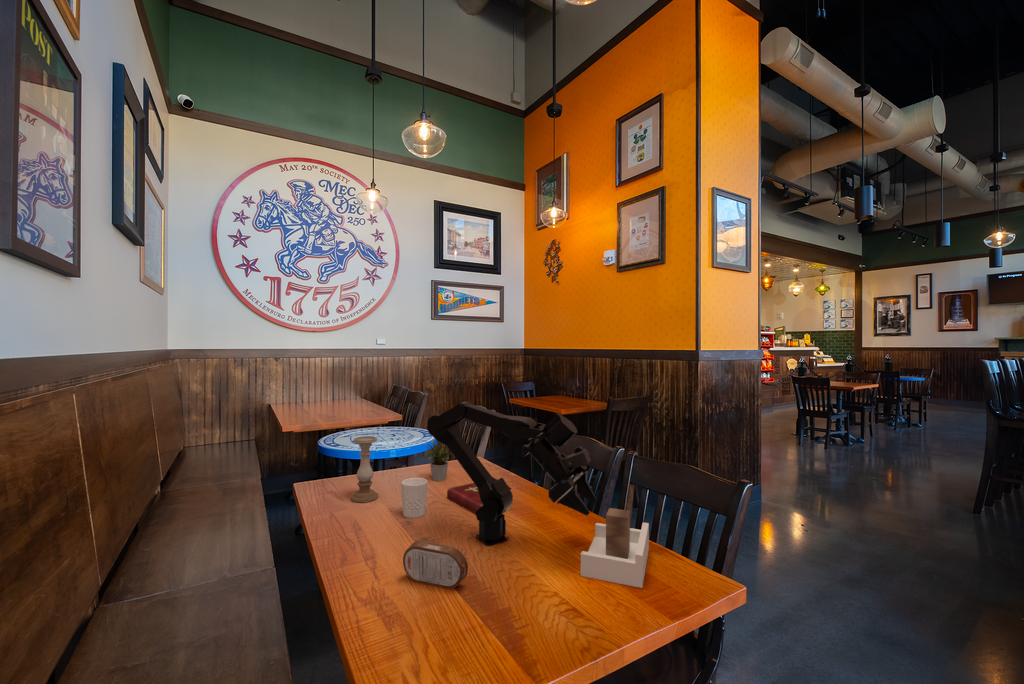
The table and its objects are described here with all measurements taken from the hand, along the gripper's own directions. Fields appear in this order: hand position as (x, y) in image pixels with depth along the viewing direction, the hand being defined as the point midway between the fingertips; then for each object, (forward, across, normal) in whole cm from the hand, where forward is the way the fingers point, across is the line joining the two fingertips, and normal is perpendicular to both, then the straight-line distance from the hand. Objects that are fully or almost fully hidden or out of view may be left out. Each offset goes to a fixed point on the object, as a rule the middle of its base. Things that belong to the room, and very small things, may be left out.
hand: (592, 507), depth 109 cm
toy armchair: (+13, 0, +4) cm, 14 cm away
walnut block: (+12, 0, +3) cm, 12 cm away
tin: (-12, -25, +30) cm, 41 cm away
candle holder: (-48, +12, +65) cm, 81 cm away
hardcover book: (-20, +23, +39) cm, 49 cm away
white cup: (-31, +7, +49) cm, 58 cm away
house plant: (-40, +40, +57) cm, 81 cm away
